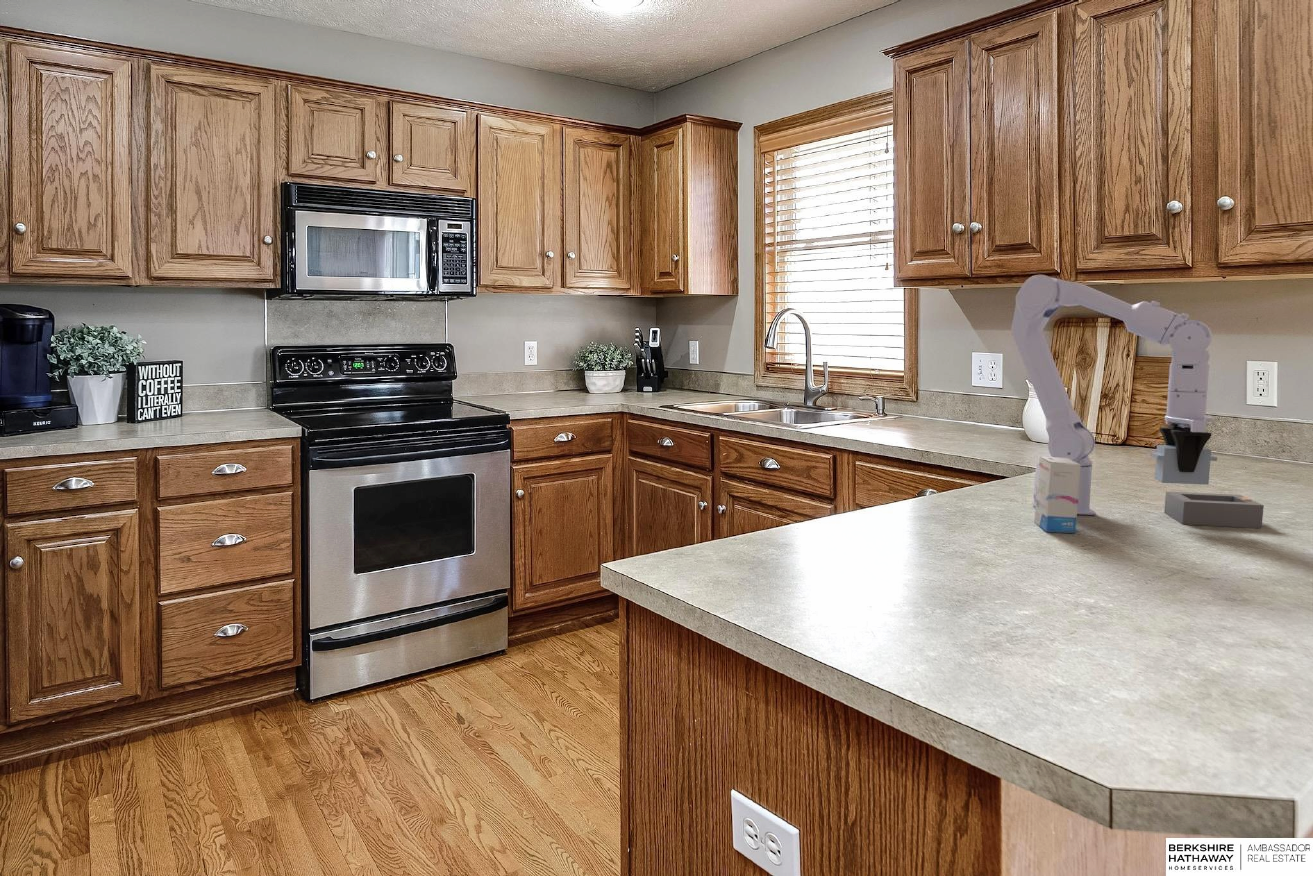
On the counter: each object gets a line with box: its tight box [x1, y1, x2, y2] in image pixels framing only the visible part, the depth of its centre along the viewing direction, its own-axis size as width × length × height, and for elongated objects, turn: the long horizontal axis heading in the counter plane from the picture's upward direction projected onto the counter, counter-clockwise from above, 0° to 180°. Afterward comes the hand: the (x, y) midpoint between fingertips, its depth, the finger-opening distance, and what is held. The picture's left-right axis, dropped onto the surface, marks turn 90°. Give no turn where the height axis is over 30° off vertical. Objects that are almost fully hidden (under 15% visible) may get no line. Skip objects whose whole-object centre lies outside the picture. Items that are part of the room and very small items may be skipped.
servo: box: [1149, 444, 1218, 486], centre depth 147 cm, size 9×4×7 cm, turn 74°
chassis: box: [1163, 490, 1264, 529], centre depth 150 cm, size 12×10×4 cm
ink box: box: [1033, 456, 1081, 534], centre depth 144 cm, size 8×5×12 cm, turn 168°
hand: (1181, 469), depth 147 cm, fingers closed on servo, 4 cm apart
